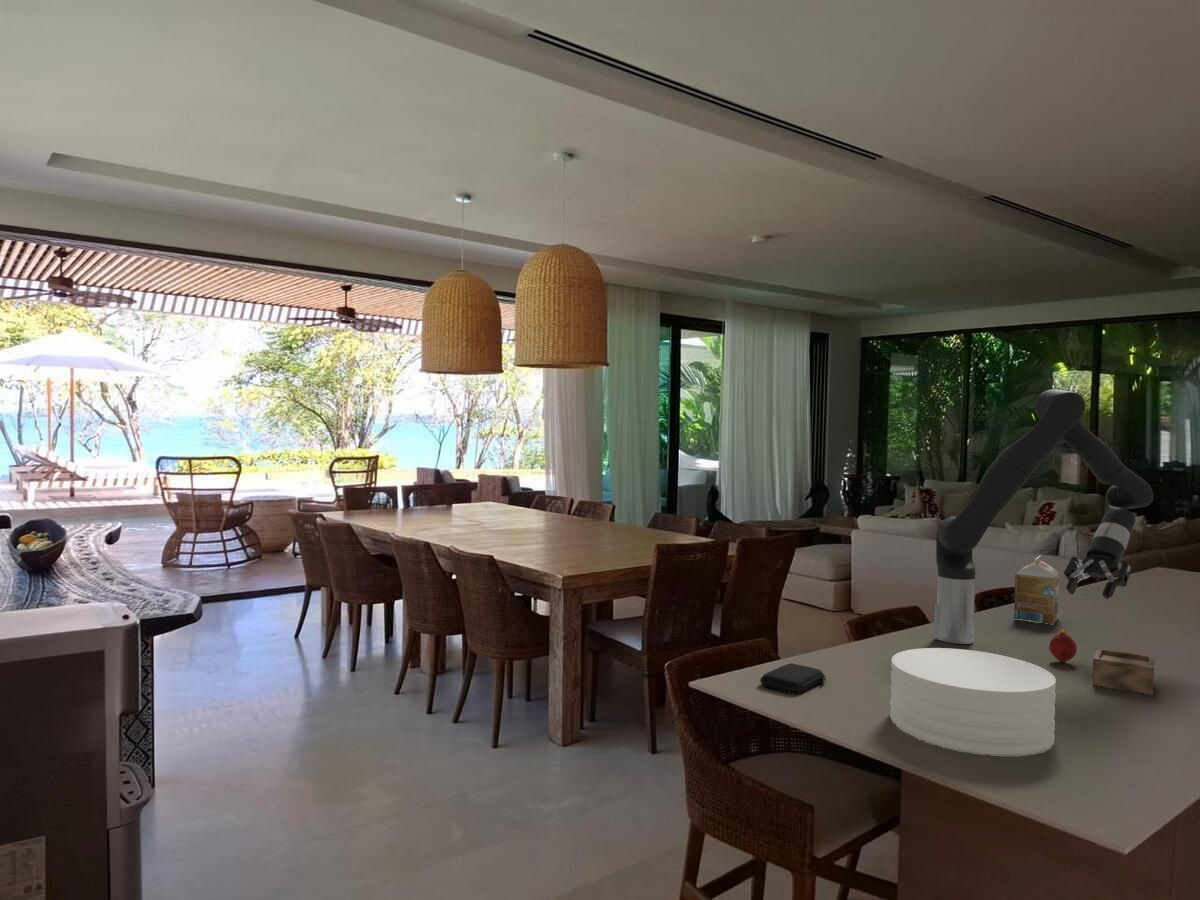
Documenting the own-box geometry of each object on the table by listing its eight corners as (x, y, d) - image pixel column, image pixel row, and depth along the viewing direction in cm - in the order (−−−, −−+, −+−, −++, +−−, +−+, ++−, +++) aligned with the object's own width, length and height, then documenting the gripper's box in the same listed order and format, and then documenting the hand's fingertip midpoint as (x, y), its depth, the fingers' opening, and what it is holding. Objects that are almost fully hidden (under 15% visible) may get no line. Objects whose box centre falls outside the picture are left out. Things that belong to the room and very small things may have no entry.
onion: (1080, 666, 192) (1081, 633, 192) (1054, 665, 193) (1054, 632, 193) (1071, 660, 198) (1071, 628, 197) (1045, 658, 199) (1046, 626, 199)
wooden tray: (1092, 685, 178) (1093, 658, 177) (1096, 673, 186) (1097, 648, 186) (1152, 695, 171) (1153, 667, 171) (1153, 682, 180) (1154, 656, 180)
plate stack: (976, 768, 132) (978, 699, 132) (858, 713, 158) (860, 655, 157) (1090, 744, 143) (1091, 681, 143) (962, 696, 169) (964, 642, 169)
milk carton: (1019, 614, 249) (1021, 553, 249) (1058, 619, 243) (1060, 557, 243) (1014, 620, 241) (1015, 557, 240) (1054, 625, 235) (1055, 561, 234)
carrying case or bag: (801, 699, 166) (832, 683, 177) (802, 685, 166) (832, 669, 177) (756, 688, 173) (788, 673, 184) (756, 674, 173) (788, 660, 184)
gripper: (1074, 533, 212) (1052, 582, 206) (1133, 537, 200) (1111, 589, 194) (1086, 550, 215) (1065, 599, 209) (1144, 555, 202) (1123, 607, 197)
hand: (1087, 594), depth 201 cm, fingers open, 8 cm apart
